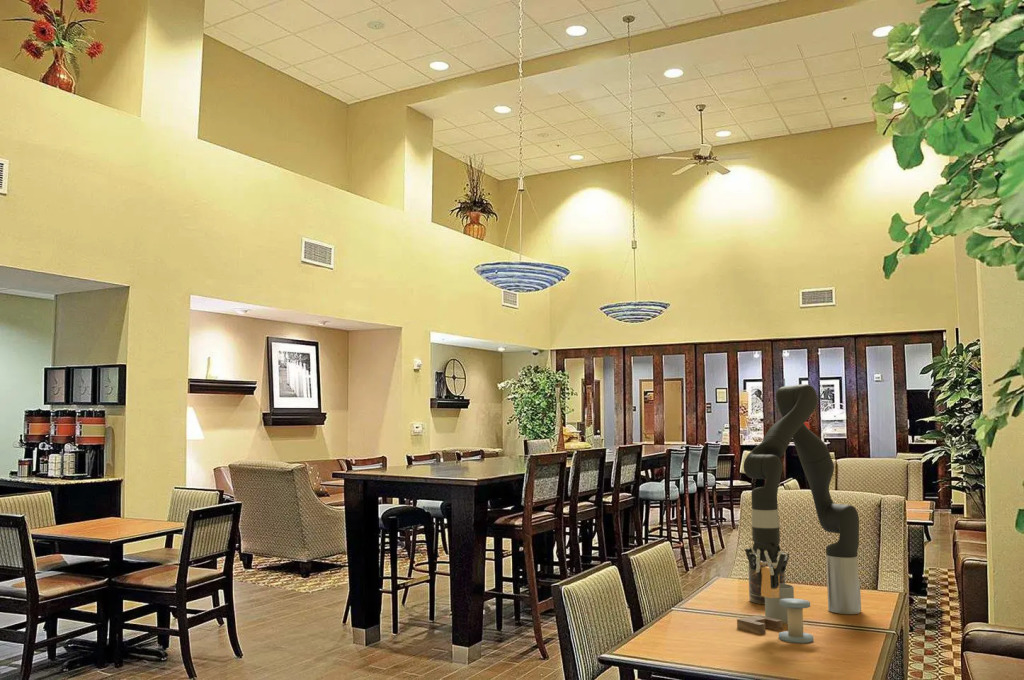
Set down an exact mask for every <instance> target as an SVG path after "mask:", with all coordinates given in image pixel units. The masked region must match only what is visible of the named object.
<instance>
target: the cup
mask: <svg viewBox="0 0 1024 680" xmlns="http://www.w3.org/2000/svg"><path fill="white" fill-rule="evenodd" d="M794 587H795V586H794V585H792V584H787V583H785V584H780V583H779V598H768V597H765V605H764V616H766V617H771V618H775V619H779V620H782V622H783V624H788V617H787V607H784V606H781V605H780V604H779V600H780V599H786V598H794V599H795V593H794V590H795V589H794Z"/></svg>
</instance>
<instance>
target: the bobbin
mask: <svg viewBox="0 0 1024 680" xmlns="http://www.w3.org/2000/svg"><path fill="white" fill-rule="evenodd" d="M779 604H780V605H781V606H784V607H787V617H788V623H787V630H786V631H785V630H784V631H781V632H778V639H779V640H780V641H783V642H787V643H792V644H811V643H813V642H814V635H813V634H811V633H807V632H804V614H803V613H804V611H803V609H808V608H811V601H809V600H806V599H801V598H795V597H794V598H786V599H780V600H779Z"/></svg>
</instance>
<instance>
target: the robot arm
mask: <svg viewBox="0 0 1024 680" xmlns="http://www.w3.org/2000/svg"><path fill="white" fill-rule="evenodd" d="M775 398H776V399H775V400H776V404H777V408H778V410H779V413H780V415H781V418H780V419H778V420H777V421H776V422H774V423H773V424H772V425H771V426H770V427H769V429H768V430H767V432H766V433H765V435H764V437H763V439H762V441H761V442H760V443H759V444H758V445H757V446H755V447H754V448H753V449H752V450H751V451H749V453H748V454H747V456H746V457H745V459H744V461H743V471H744V473H745V476H746V477H748V478H750V479H753V480H765V484H764V485H763V486H760V487H759V486H758V487H755V488H753V489H752V490H751V494H750V495H751V496H750V497H751V537H752V542H753V546H752V547H750V548H749V547H748V548H745V549H744V551H745V555H746V558H747V560H748V565H749V564H750V567H751V569H752V570H753V569H754V570H755V571H756V572H757V578H758V584H759V586H761V567H765V565H766V564H767V565H768V567H769V569H770V573H771V575H770V581H771V588H772V589H776V588H778V586H779V574H781V573H784V572H785V573H786V568H787V565H788V562H789V558H790V554H789V553H788V552H784V551H782V550H781V547H780V542H781V535H780V534H781V533H780V528H781V527H780V516H779V510H778V509H779V508H778V507H779V506H778V492H779V488H780V487H779V485H780V482H781V478H782V474H783V464H782V460H781V458H783V456H784V454H785V453H786V450H788V447H789V445H790V443H791V441H793V444H794V447H795V450H796V452H797V456H798V458H799V462H800V463H801V464H800V465H801V467H802V470H803V472H804V475H805V477H806V480H807V482H808V486H809V488H810V489H809V490H810V491H811V495H812V499H813V503H814V507H815V511H816V514H817V518H818V522H819V524H820V526H821V528H822V529H823V530H824V531H825V532H828V533H831V534H839V536H838V537H839V538H838V540H837V541H836V542H834V543H830V544H827V546H825V555H826V556H825V559H826V562H825V563H826V582H827V583H826V585H827V608H828V611H829V612H831V613H835V614H839V615H840V614H841V615H857V614H860V612H862V599H861V598H862V595H861V580H859V563H858V561H859V560H858V559H859V557H858V550H859V546H860V517H859V512H858V510H857V509H856V507H855V506H853V505H850V504H844V503H843V504H842V503H835V502H834V501H833V500H832V497H831V492H830V485H831V481H832V478H833V476H834V470H835V465H834V462H833V458H832V456H831V453H830V450H829V447H828V446H827V444H826V443H825V442H824V441H823V440H822V439H821V438H820V437H819V436H818V435H816V433H814V432H813V431H812V430H810V428H809V427H808V426H807V425H806V424H805V423H806V421H807V420H808V419H809V418H810V417H811V416H812V414H814V411H815V410H816V408H817V405H818V395H817V391H816V389H815V388H814V387H813V386H812V385H810V384H808V383H807V384H803V383H802V384H800V383H799V384H794V385H785V386H781V387H779V388H778V389H777V390H776V394H775ZM756 555H757V557H756ZM778 556H779V557H778ZM777 557H778V558H777ZM778 559H779V561H778ZM772 562H774V563H772Z"/></svg>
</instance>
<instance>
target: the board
mask: <svg viewBox="0 0 1024 680" xmlns="http://www.w3.org/2000/svg"><path fill="white" fill-rule="evenodd" d="M736 625H737V626H736V628H737V629H739V630H741V631H742V630H743V631H746V632H750V633H755V634H758V635H761V634H762V635H763V634H767V633H766V629H769V628H770V630H773V629H774V631H781V629H782V630H784V626H783V625H784V623H783V622H782V620H779V619H775V618H771V617H766V616H765V615H761V614H758V615H753V616H748V617H743V618H737V619H736Z"/></svg>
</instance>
